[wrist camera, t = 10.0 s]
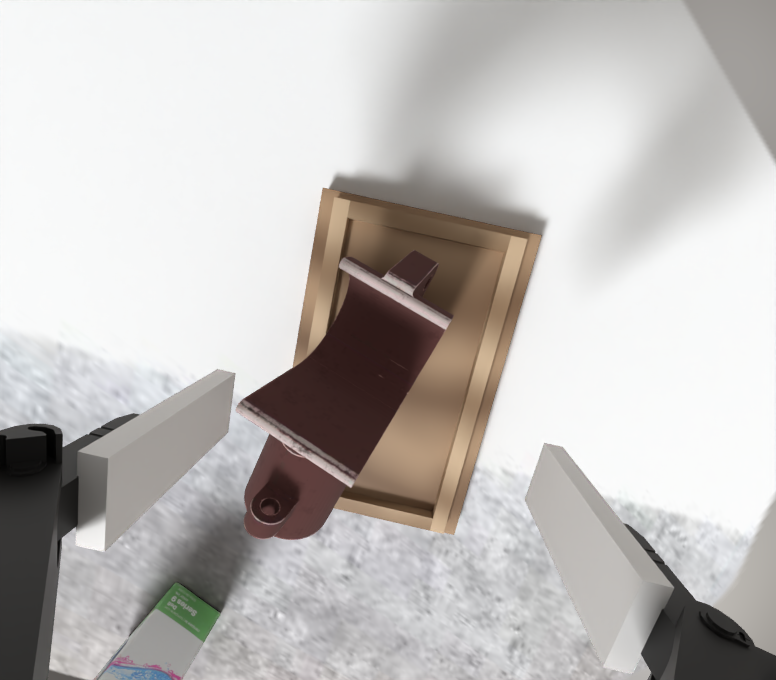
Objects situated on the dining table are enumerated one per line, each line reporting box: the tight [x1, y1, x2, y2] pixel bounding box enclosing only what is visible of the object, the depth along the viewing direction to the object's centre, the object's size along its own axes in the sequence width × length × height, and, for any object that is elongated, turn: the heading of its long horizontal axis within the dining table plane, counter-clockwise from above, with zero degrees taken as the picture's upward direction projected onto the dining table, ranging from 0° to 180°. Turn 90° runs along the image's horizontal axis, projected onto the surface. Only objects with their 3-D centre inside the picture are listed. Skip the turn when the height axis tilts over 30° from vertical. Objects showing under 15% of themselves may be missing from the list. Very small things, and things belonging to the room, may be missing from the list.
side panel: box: [293, 188, 542, 535], centre depth 26 cm, size 22×14×2 cm, turn 168°
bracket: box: [236, 250, 454, 540], centre depth 21 cm, size 6×17×10 cm, turn 151°
